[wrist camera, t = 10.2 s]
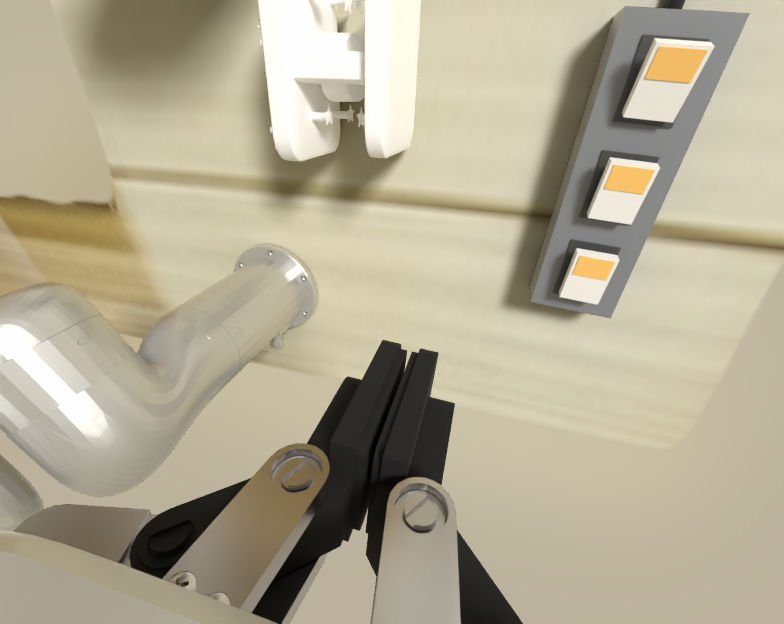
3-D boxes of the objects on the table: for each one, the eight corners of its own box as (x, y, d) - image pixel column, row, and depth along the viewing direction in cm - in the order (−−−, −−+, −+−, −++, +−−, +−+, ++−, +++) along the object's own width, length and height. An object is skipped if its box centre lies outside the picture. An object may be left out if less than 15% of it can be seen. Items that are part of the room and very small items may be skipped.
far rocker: (596, 298, 38) (597, 305, 37) (558, 291, 38) (559, 297, 38) (617, 255, 35) (619, 260, 34) (576, 247, 35) (577, 253, 34)
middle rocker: (629, 219, 34) (631, 225, 33) (586, 212, 34) (587, 218, 34) (657, 163, 30) (660, 168, 30) (609, 157, 31) (611, 161, 30)
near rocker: (670, 117, 30) (673, 122, 29) (621, 111, 31) (622, 117, 30) (711, 42, 26) (714, 47, 25) (654, 38, 27) (656, 42, 26)
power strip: (602, 301, 42) (611, 321, 38) (529, 286, 44) (530, 304, 40) (797, -149, 25) (849, -195, 21) (664, -147, 26) (690, -190, 23)
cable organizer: (415, 155, 41) (383, 172, 31) (324, 148, 43) (268, 162, 33) (426, -29, 33) (389, -83, 23) (315, -26, 35) (239, -73, 26)
